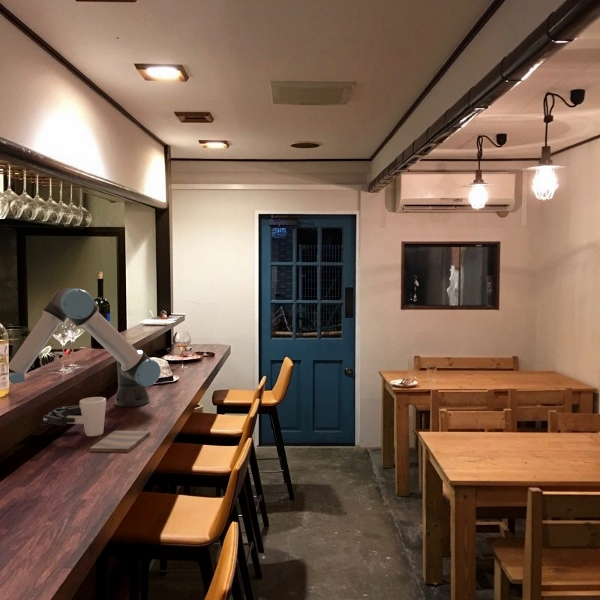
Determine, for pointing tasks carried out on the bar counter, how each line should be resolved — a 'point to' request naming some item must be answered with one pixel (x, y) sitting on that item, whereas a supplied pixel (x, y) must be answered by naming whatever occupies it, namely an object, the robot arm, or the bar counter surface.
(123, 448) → the walnut board
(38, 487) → the bar counter surface
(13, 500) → the bar counter surface
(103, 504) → the bar counter surface
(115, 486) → the bar counter surface
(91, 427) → the foam cup
